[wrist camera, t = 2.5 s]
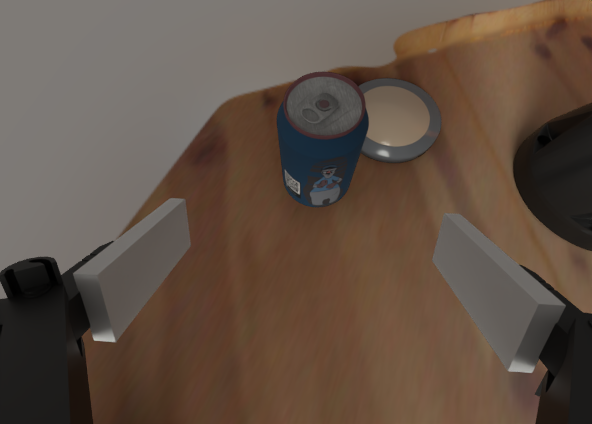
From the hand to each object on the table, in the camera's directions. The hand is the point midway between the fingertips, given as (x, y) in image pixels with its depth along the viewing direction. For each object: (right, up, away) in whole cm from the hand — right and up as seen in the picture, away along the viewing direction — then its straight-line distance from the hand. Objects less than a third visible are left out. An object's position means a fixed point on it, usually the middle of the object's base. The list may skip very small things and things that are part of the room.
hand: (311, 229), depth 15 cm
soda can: (+1, +4, +17) cm, 17 cm away
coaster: (+10, +11, +19) cm, 24 cm away
